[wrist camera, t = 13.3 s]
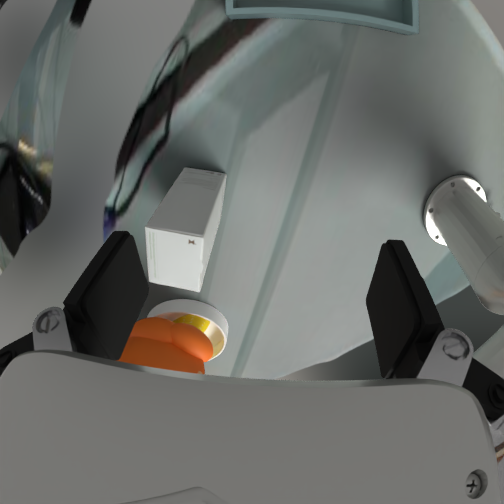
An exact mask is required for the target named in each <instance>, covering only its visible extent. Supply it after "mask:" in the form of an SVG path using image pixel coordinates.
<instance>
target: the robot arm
mask: <svg viewBox="0 0 504 504" xmlns="http://www.w3.org/2000/svg"><path fill="white" fill-rule="evenodd" d="M500 217H501V216H500V213H498V212H495V211H494V210H493V209H492V208H491V207H490V206H489V205H488V204H487V202H486V195H485V192H484V190H483V188H482V186H481V185H480V184H479V183H478V182H477V181H476V180H474V179H473V178H471V177H469V176H465V175H456V176H453V177H450V178H448V179H446V180H444V181H443V182H441V183H440V184H439V185H438V186H437V187H436V188H435V189H434V190H433V192H432V193H431V195H430V196H429V198H428V200H427V202H426V205H425V209H424V225H425V228H426V230H427V232H428V234H429V235H430V237H431V238H432V239H433V240H434V241H436V242H437V243H439V244H443V245H447V246H448V248H449V249H450V251H451V253H452V254H453V256H454V257H455V259H456V260H457V262H458V264H459V265H460V267H461V269H462V270H463V272H464V274H465V275H466V277H467V279H468V281H469V282H470V284H471V286H472V287H473V289H474V291H475V293H476V295H477V296H478V298H479V300H480V302H481V303H482V304H483V305H484V307H486V308H487V309H488V310H490V311H492V312H494V313H497V314H501V315H504V221H503V220H502V219H501V218H500ZM148 292H149V287H148V284H147V280H146V277H145V274H144V271H143V268H142V264H141V261H140V258H139V254H138V251H137V247H136V244H135V240H134V237H133V236H132V235H130V233H129V232H128V231H114V232H113V233H112V234H111V235H110V236H109V238H108V239H107V240H106V242H105V243H104V244H103V246H102V247H101V248H100V250H99V251H98V252H97V254H96V255H95V257H94V258H93V259H92V261H91V262H90V264H89V265H88V266H87V268H86V269H85V271H84V272H83V273H82V275H81V276H80V278H79V280H78V281H77V282H76V284H75V285H74V287H73V288H72V290H71V291H70V293H69V294H68V296H67V297H66V299H65V300H64V302H63V304H64V305H65V307H64V309H63V310H62V309H61V308H59V307H50V308H47V309H45V310H43V311H42V312H41V313H39V314H38V315H37V317H36V318H35V320H34V322H33V327H32V329H33V332H31V333H29V334H28V335H26V336H24V337H22V338H20V339H18V340H16V341H14V342H13V343H11V344H9V345H7V346H5V347H3V348H2V349H1V350H0V504H504V325H503V326H502V327H501V328H500V329H499V330H498V331H497V332H496V333H495V334H494V335H493V336H492V337H491V338H490V339H489V340H488V341H487V342H486V343H484V344H483V345H482V346H481V347H480V348H479V349H478V350H477V351H476V352H475V353H473V345H472V343H471V341H470V339H469V338H468V337H467V336H466V335H465V334H464V333H462V332H461V331H459V330H456V329H444V326H443V323H442V321H441V318H440V316H439V313H438V311H437V309H436V306H435V304H434V302H433V299H432V297H431V295H430V292H429V290H428V288H427V286H426V284H425V281H424V279H423V278H422V277H421V275H420V273H419V271H418V269H417V267H416V265H415V263H414V261H413V259H412V257H411V255H410V253H409V251H408V249H407V247H406V245H405V243H404V242H403V241H402V240H387V242H386V243H383V244H382V246H381V250H380V253H379V257H378V260H377V264H376V267H375V271H374V274H373V278H372V281H371V284H370V287H369V291H368V294H367V297H366V305H367V310H368V314H369V318H370V322H371V327H372V331H373V336H374V341H375V345H376V350H377V355H378V360H379V366H380V371H381V376H382V377H383V378H386V379H380V380H352V381H351V380H350V381H290V380H266V379H249V378H236V377H224V376H214V375H205V374H196V373H188V372H181V371H173V370H167V369H160V368H154V367H148V366H142V365H136V364H131V363H126V362H120V361H116V360H119V359H120V357H121V355H122V353H123V350H124V348H125V345H126V343H127V341H128V338H129V336H130V334H131V331H132V329H133V327H134V324H135V322H136V320H137V318H138V315H139V313H140V311H141V309H142V306H143V304H144V302H145V300H146V298H147V295H148Z"/></svg>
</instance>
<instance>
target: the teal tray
mask: <svg viewBox="0 0 504 504" xmlns="http://www.w3.org/2000/svg"><path fill="white" fill-rule="evenodd" d="M225 1H226V15H227V16H228V17H229V18H230V19H248V18H289V19H308V20H321V21H331V22H339V23H347V24H354V25H360V26H366V27H371V28H377V29H382V30H386V31H391V32H395V33H400V34H404V35H412V34H419V10H418V0H225Z"/></svg>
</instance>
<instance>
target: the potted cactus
mask: <svg viewBox="0 0 504 504" xmlns="http://www.w3.org/2000/svg"><path fill="white" fill-rule="evenodd" d="M227 335H228V323H227V320H226V318H225V317H224V316H223V314H222V313H221V312H220V311H218V310H217V309H216V308H214V307H212V306H210V305H208V304H206V303H203V302H200V301H196V300H190V299H176V300H170V301H166V302H163V303H161V304H159V305H157V306H155V307H154V308H153V309H152V310H151V311H150V312H149V314H148V316H147V318H144V319H141V320H139V321H137V322H136V323H135V324H134V327H133V329H132V331H131V334H130V336H129V338H128V341H127V343H126V345H125V348H124V350H123V353H122V355H121V357H120V359H119V360H116V361H120V362H126V363H131V364H136V365H142V366H148V367H154V368H160V369H167V370H173V371H181V372H188V373H196V374H204V373H205V370H204V363H203V362H207V361H209V360H211V359H213V358H215V357H217V356H218V355H219V354H220V353H221V352H222V351H223V350H224V348H225V345H226V340H227Z"/></svg>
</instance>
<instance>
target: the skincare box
mask: <svg viewBox="0 0 504 504" xmlns="http://www.w3.org/2000/svg"><path fill="white" fill-rule="evenodd" d="M225 185H226V174H225V173H219V172H213V171H207V170H200V169H194V168H187V167H185V168H184V169H183V170H182V172H181V173H180V175H179V176H178V178H177V179H176V181H175V182H174V184H173V185H172V187H171V188H170V190H169V191H168V193H167V194H166V196H165V197H164V199H163V200H162V202H161V203H160V205H159V206H158V208H157V209H156V211H155V212H154V214H153V216H152V217H151V219H150V220H149V222H148V224H147V225H146V226H145V233H146V251H147V265H148V275H149V282H152V283H156V284H161V285H167V286H172V287H177V288H182V289H187V290H192V291H196V292H200V290H201V287H202V283H203V279H204V275H205V272H206V268H207V265H208V261H209V257H210V254H211V250H212V247H213V243H214V239H215V236H216V232H217V229H218V226H219V223H220V219H221V214H222V207H223V200H224V192H225Z"/></svg>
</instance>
